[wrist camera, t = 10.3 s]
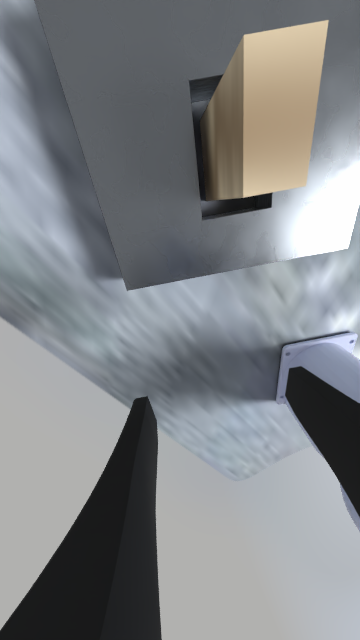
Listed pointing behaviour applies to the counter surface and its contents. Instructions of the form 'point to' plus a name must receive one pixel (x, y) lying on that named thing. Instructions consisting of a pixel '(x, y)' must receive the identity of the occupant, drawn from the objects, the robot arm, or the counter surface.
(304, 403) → the robot arm
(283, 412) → the counter surface
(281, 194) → the gray slab with hole
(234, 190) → the tan wooden beam
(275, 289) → the counter surface
